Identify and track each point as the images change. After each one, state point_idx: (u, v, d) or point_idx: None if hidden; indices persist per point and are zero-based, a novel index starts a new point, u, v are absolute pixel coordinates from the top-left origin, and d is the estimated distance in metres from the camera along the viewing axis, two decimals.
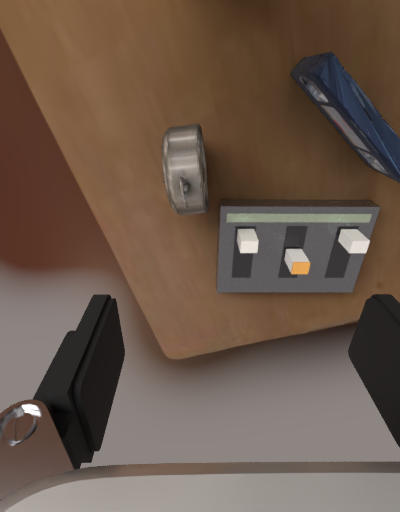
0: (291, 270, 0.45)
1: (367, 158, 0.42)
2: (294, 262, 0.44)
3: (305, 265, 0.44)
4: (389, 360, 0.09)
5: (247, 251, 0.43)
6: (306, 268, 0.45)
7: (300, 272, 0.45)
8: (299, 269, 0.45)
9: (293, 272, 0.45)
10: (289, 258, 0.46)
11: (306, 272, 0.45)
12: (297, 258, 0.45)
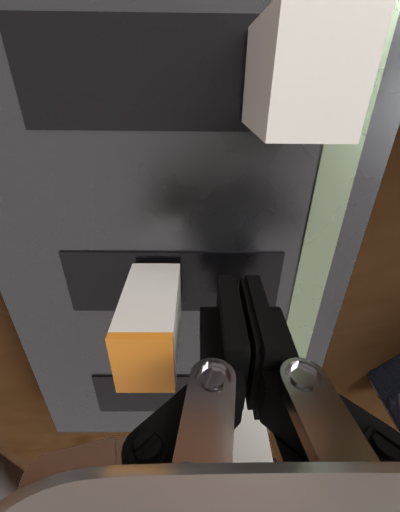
0: (123, 332, 0.09)
1: None
2: None
3: (161, 380, 0.10)
4: None
5: (288, 62, 0.06)
6: (145, 385, 0.10)
7: (121, 370, 0.10)
8: (136, 364, 0.09)
9: (116, 345, 0.09)
10: (164, 297, 0.11)
11: (124, 388, 0.10)
12: (176, 331, 0.10)
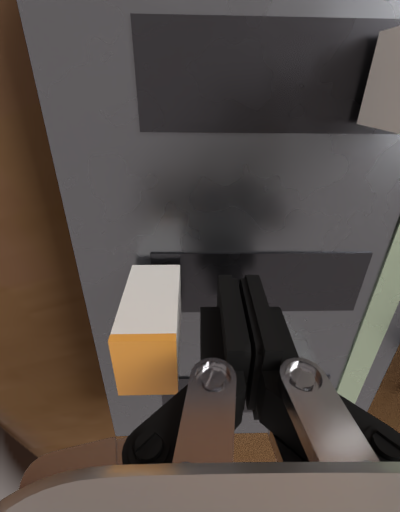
0: (126, 334, 0.09)
1: None
2: None
3: (164, 381, 0.10)
4: None
5: None
6: (148, 387, 0.10)
7: (123, 373, 0.09)
8: (139, 366, 0.09)
9: (119, 347, 0.09)
10: (166, 298, 0.11)
11: (127, 390, 0.10)
12: (178, 332, 0.10)
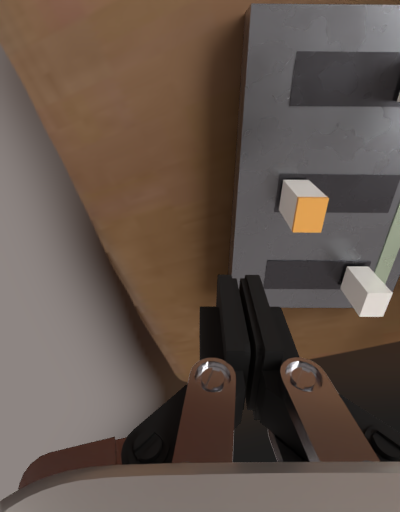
0: (304, 196, 0.20)
1: None
2: None
3: (316, 223, 0.21)
4: None
5: None
6: (308, 227, 0.21)
7: (299, 217, 0.20)
8: (308, 213, 0.20)
9: (303, 202, 0.20)
10: (312, 188, 0.21)
11: (298, 228, 0.21)
12: None
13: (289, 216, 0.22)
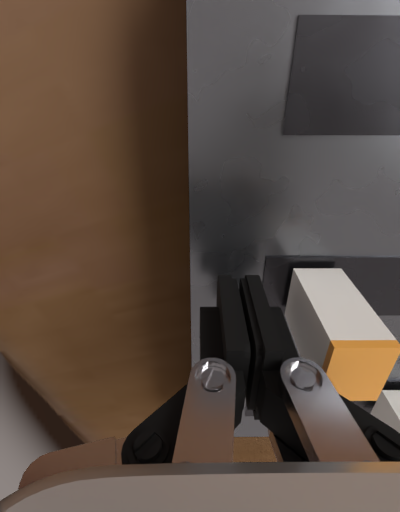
0: (346, 340, 0.09)
1: None
2: None
3: (369, 388, 0.10)
4: None
5: None
6: (351, 393, 0.10)
7: (334, 378, 0.09)
8: (353, 372, 0.09)
9: (343, 354, 0.09)
10: (356, 303, 0.10)
11: None
12: None
13: (308, 356, 0.11)
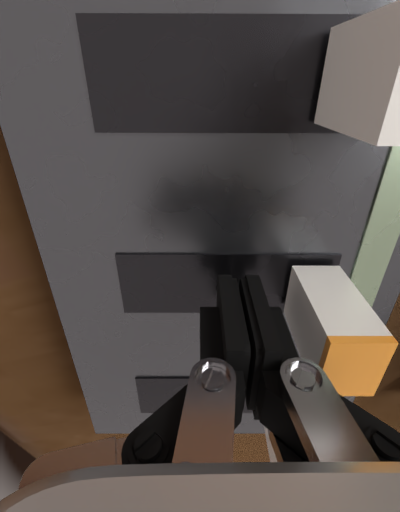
0: (343, 336, 0.09)
1: None
2: None
3: (365, 383, 0.10)
4: None
5: None
6: (347, 388, 0.10)
7: (330, 374, 0.10)
8: (350, 368, 0.09)
9: (339, 349, 0.09)
10: (354, 300, 0.11)
11: None
12: None
13: (306, 352, 0.11)
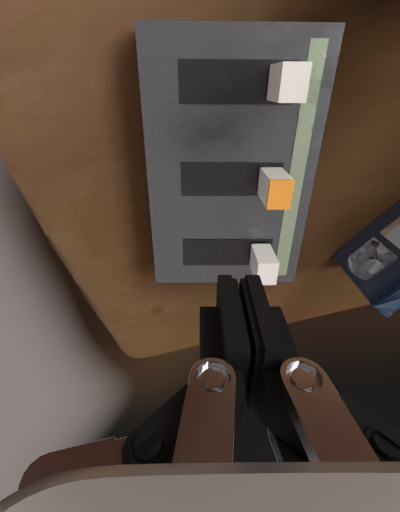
0: (275, 179, 0.24)
1: (358, 251, 0.34)
2: None
3: (286, 202, 0.25)
4: None
5: (285, 79, 0.21)
6: (279, 205, 0.25)
7: (271, 196, 0.25)
8: (278, 193, 0.24)
9: (273, 183, 0.24)
10: (283, 173, 0.26)
11: (271, 206, 0.25)
12: None
13: (264, 197, 0.26)
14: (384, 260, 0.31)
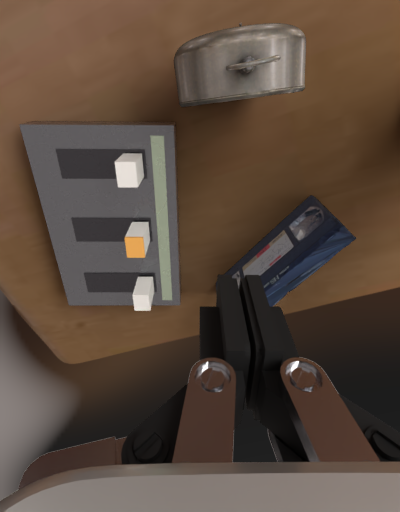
0: (129, 236, 0.33)
1: None
2: (143, 238, 0.33)
3: (140, 252, 0.33)
4: None
5: (118, 172, 0.29)
6: (135, 254, 0.33)
7: (128, 249, 0.33)
8: (133, 246, 0.33)
9: (127, 240, 0.33)
10: (141, 229, 0.34)
11: (129, 255, 0.34)
12: (145, 240, 0.34)
13: None
14: None
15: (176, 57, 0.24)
